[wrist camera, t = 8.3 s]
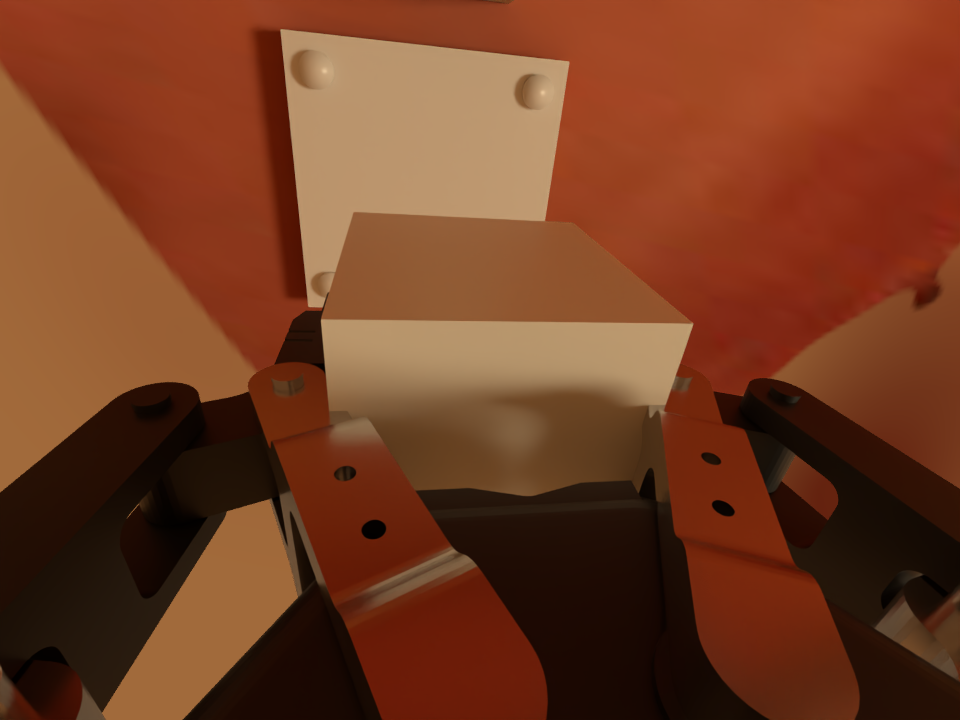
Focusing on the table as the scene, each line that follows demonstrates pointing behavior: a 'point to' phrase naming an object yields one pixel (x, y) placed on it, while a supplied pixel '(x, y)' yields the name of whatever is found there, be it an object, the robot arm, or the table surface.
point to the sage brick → (501, 1)
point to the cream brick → (496, 350)
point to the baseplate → (414, 136)
